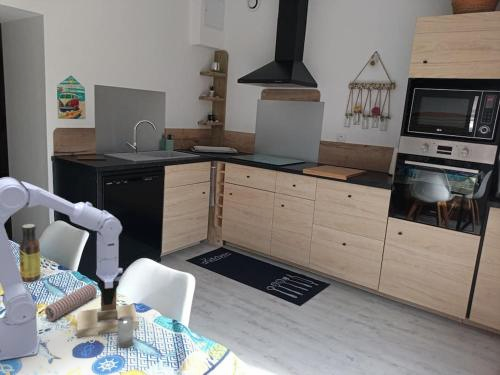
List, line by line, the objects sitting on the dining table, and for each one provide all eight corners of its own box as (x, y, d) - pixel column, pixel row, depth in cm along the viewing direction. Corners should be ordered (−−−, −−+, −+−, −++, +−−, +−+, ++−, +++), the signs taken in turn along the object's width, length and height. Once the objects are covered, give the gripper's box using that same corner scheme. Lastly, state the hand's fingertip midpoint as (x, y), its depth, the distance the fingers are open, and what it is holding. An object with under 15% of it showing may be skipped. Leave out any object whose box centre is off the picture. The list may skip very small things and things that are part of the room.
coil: (54, 310, 108) (99, 285, 125) (42, 304, 110) (88, 280, 126) (53, 324, 109) (98, 297, 126) (41, 318, 111) (87, 293, 127)
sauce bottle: (21, 275, 136) (19, 222, 132) (41, 273, 139) (39, 221, 135) (19, 283, 130) (16, 228, 126) (40, 281, 133) (38, 227, 129)
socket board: (77, 338, 103) (77, 329, 102) (78, 318, 112) (77, 311, 111) (137, 328, 109) (137, 321, 109) (134, 311, 118) (134, 304, 118)
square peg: (101, 311, 107) (101, 288, 106) (100, 304, 111) (100, 282, 109) (116, 309, 109) (116, 287, 107) (115, 302, 112) (115, 280, 111)
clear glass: (117, 349, 100) (118, 325, 98) (116, 340, 103) (117, 317, 102) (133, 346, 101) (134, 322, 100) (132, 338, 105) (132, 315, 104)
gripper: (124, 264, 102) (124, 310, 104) (120, 246, 115) (120, 287, 117) (96, 267, 99) (96, 314, 101) (95, 247, 112) (95, 289, 114)
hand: (107, 300), depth 109 cm, fingers closed on square peg, 4 cm apart
